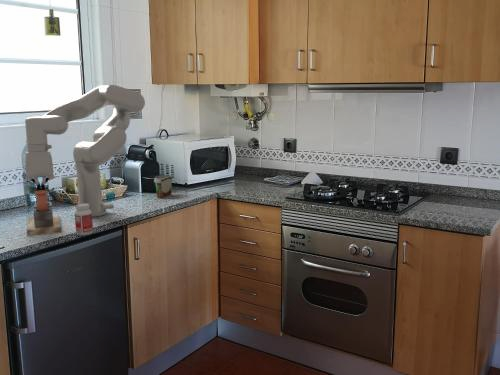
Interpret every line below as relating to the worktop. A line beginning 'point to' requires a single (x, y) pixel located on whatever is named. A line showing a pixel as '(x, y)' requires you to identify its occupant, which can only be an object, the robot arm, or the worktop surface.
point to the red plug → (42, 200)
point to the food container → (163, 186)
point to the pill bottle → (83, 220)
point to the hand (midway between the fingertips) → (41, 194)
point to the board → (43, 222)
